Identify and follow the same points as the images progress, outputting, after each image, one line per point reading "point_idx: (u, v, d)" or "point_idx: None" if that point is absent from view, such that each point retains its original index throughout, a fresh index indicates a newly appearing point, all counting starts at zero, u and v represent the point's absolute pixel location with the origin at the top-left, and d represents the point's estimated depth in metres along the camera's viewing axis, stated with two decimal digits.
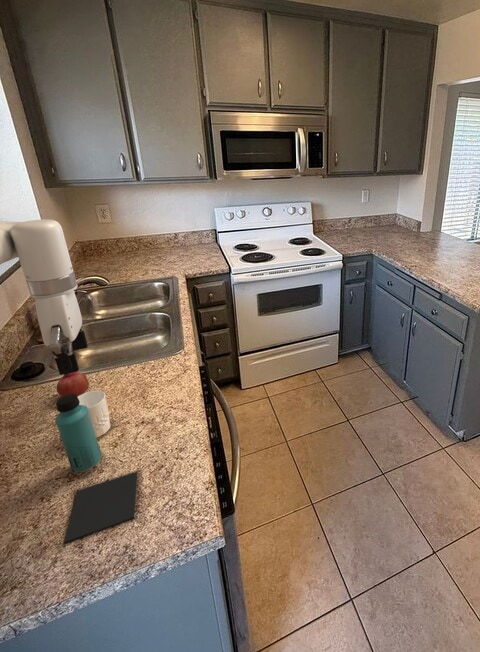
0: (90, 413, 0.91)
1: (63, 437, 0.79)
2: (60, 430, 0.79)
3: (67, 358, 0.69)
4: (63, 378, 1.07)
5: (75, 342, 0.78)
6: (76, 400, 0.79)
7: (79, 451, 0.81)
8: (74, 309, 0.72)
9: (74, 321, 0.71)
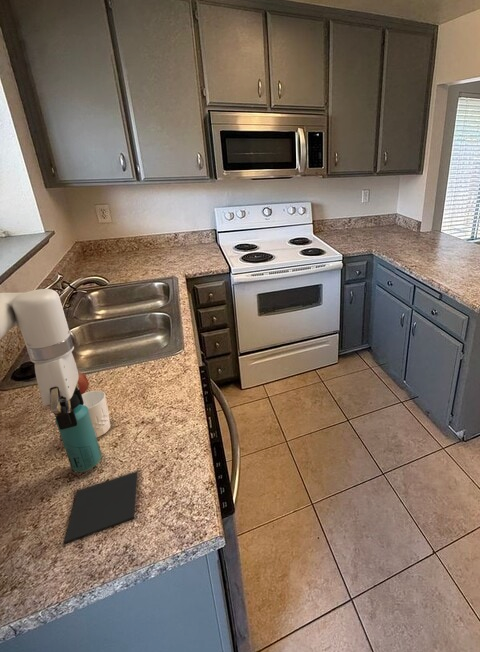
0: (90, 413, 0.91)
1: (63, 436, 0.79)
2: (60, 430, 0.79)
3: (66, 415, 0.76)
4: None
5: None
6: (76, 400, 0.80)
7: (79, 450, 0.81)
8: (71, 369, 0.77)
9: (71, 380, 0.76)
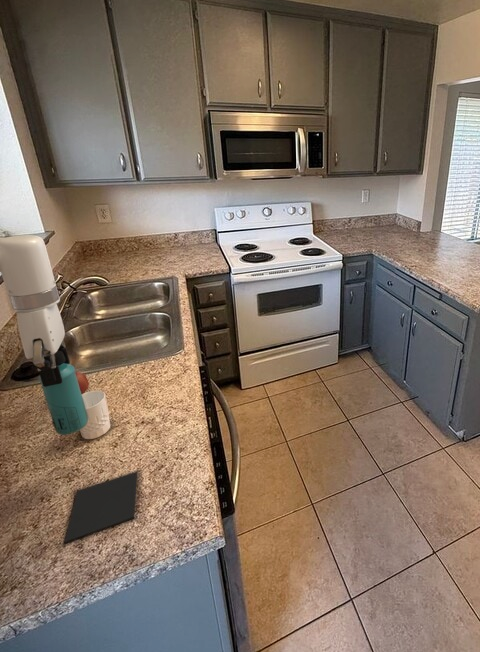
0: (90, 413, 0.91)
1: (47, 395, 0.75)
2: (44, 388, 0.74)
3: (51, 371, 0.72)
4: None
5: None
6: (62, 357, 0.75)
7: (64, 411, 0.76)
8: (56, 322, 0.73)
9: (56, 334, 0.72)
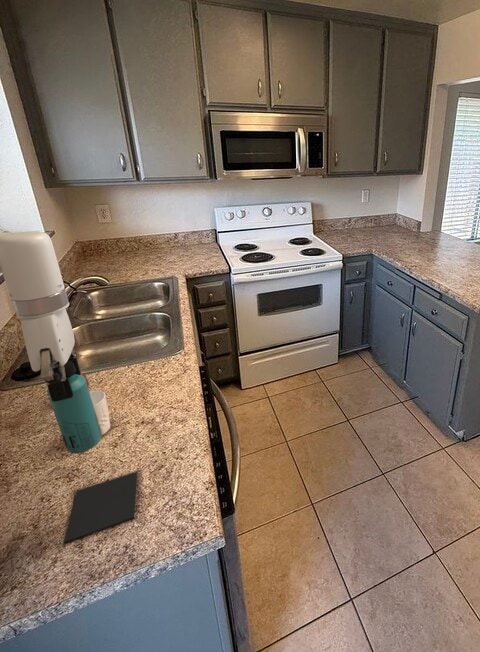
0: None
1: (56, 411, 0.67)
2: (53, 403, 0.66)
3: (60, 384, 0.64)
4: None
5: None
6: (72, 367, 0.67)
7: (76, 428, 0.68)
8: (65, 329, 0.65)
9: (65, 343, 0.64)
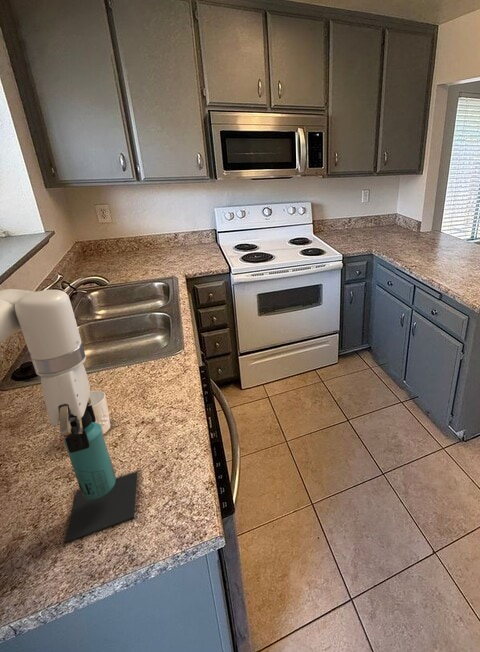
0: None
1: (73, 460, 0.69)
2: None
3: (77, 436, 0.65)
4: None
5: None
6: (88, 417, 0.69)
7: (92, 475, 0.70)
8: (82, 382, 0.67)
9: (82, 396, 0.66)
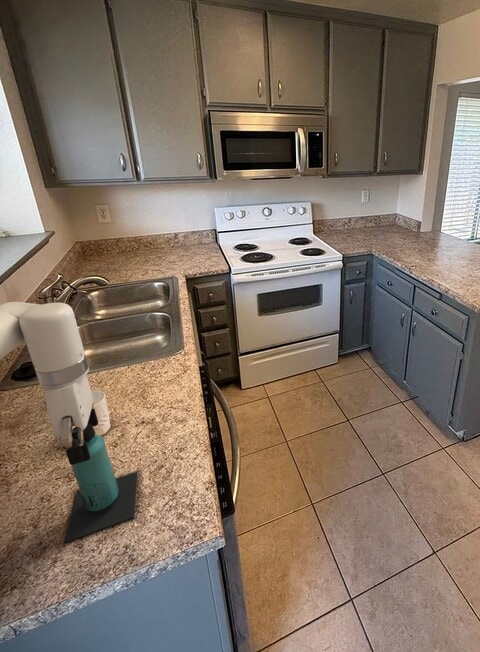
0: None
1: (76, 473, 0.70)
2: (73, 466, 0.69)
3: (78, 449, 0.65)
4: None
5: None
6: (91, 431, 0.70)
7: (95, 488, 0.71)
8: (85, 393, 0.67)
9: (85, 407, 0.67)
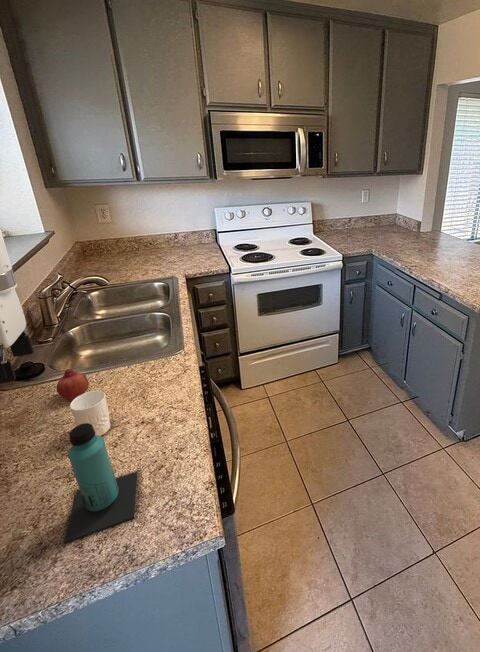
0: (90, 413, 0.91)
1: (76, 473, 0.70)
2: (73, 466, 0.69)
3: (0, 366, 0.61)
4: (63, 378, 1.07)
5: (18, 347, 0.70)
6: (91, 431, 0.70)
7: (95, 488, 0.71)
8: (12, 311, 0.64)
9: (11, 325, 0.63)
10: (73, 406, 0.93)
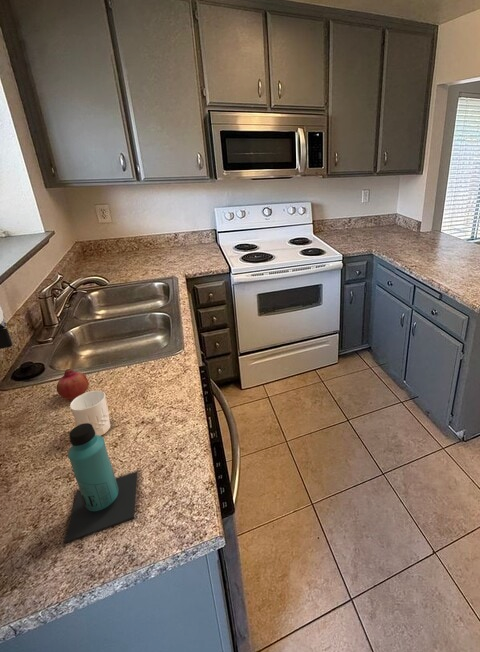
0: (90, 413, 0.91)
1: (76, 473, 0.70)
2: (73, 466, 0.69)
3: None
4: (63, 378, 1.07)
5: None
6: (92, 431, 0.70)
7: (95, 488, 0.71)
8: None
9: None
10: (73, 406, 0.93)
